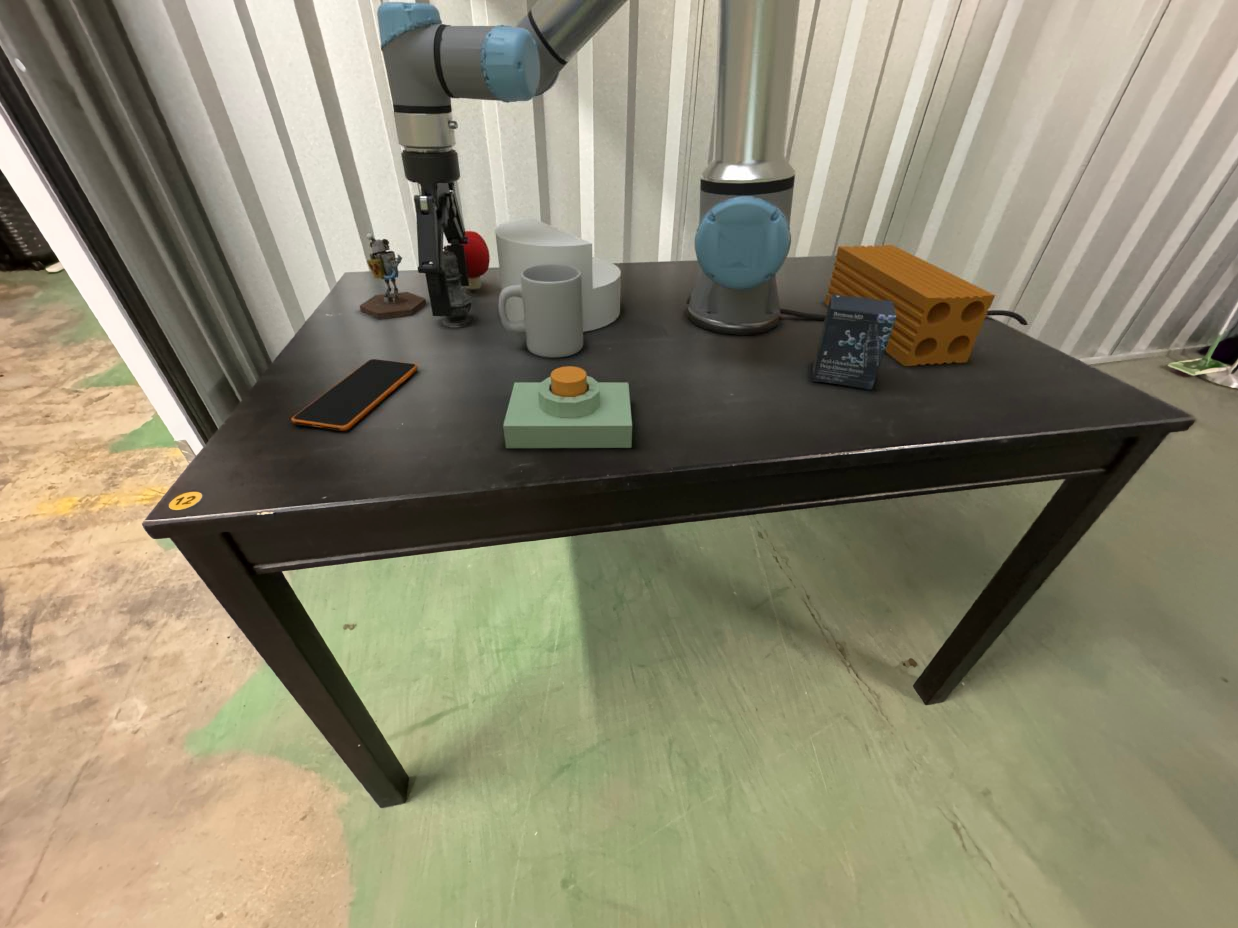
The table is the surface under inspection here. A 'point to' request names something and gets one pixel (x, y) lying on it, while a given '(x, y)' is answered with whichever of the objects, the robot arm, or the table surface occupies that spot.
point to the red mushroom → (476, 259)
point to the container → (548, 245)
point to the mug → (548, 309)
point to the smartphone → (355, 395)
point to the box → (853, 341)
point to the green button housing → (569, 417)
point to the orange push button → (569, 381)
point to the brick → (914, 302)
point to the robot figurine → (386, 269)
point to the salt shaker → (455, 294)
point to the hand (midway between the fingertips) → (452, 299)
